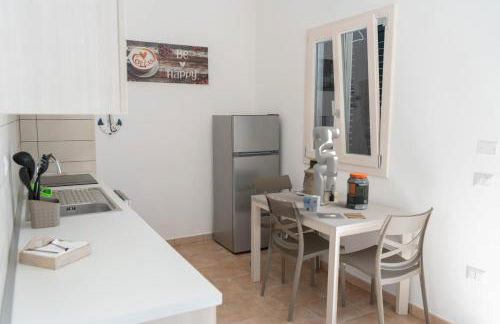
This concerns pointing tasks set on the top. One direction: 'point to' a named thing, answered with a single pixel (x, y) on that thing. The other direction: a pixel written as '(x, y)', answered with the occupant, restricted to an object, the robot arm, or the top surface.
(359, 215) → the walnut pad
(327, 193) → the birch block
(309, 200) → the light bulb box
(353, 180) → the supplement tub
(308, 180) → the burlap sack
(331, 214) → the mat
